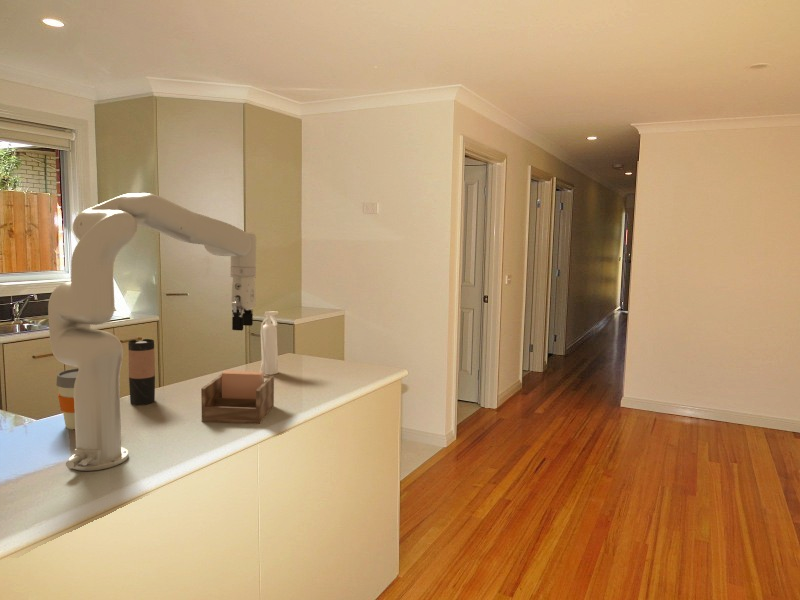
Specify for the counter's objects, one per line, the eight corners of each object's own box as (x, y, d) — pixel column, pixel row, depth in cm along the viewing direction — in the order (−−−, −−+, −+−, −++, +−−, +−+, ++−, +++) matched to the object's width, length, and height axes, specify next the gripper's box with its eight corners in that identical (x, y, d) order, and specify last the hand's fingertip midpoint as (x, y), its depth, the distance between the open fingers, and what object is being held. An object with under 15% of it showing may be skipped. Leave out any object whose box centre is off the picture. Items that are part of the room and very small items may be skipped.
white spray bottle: (251, 375, 214) (251, 312, 211) (270, 369, 225) (270, 309, 222) (265, 377, 212) (266, 314, 209) (284, 371, 223) (284, 310, 220)
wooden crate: (259, 423, 160) (259, 390, 159) (201, 421, 160) (201, 388, 159) (273, 406, 177) (273, 375, 176) (221, 404, 177) (221, 374, 176)
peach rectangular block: (260, 409, 170) (260, 374, 169) (221, 407, 170) (221, 373, 169) (263, 405, 174) (263, 371, 173) (226, 403, 174) (226, 370, 173)
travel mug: (145, 406, 172) (144, 344, 170) (124, 404, 174) (122, 342, 172) (160, 399, 180) (159, 339, 178) (139, 397, 181) (138, 338, 179)
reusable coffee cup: (119, 420, 159) (117, 369, 158) (83, 434, 147) (81, 380, 146) (84, 414, 163) (83, 365, 161) (46, 428, 151) (44, 375, 149)
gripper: (247, 274, 159) (246, 332, 161) (262, 271, 176) (262, 324, 178) (221, 273, 159) (221, 331, 161) (239, 270, 176) (239, 323, 178)
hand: (242, 327), depth 169 cm, fingers open, 9 cm apart
